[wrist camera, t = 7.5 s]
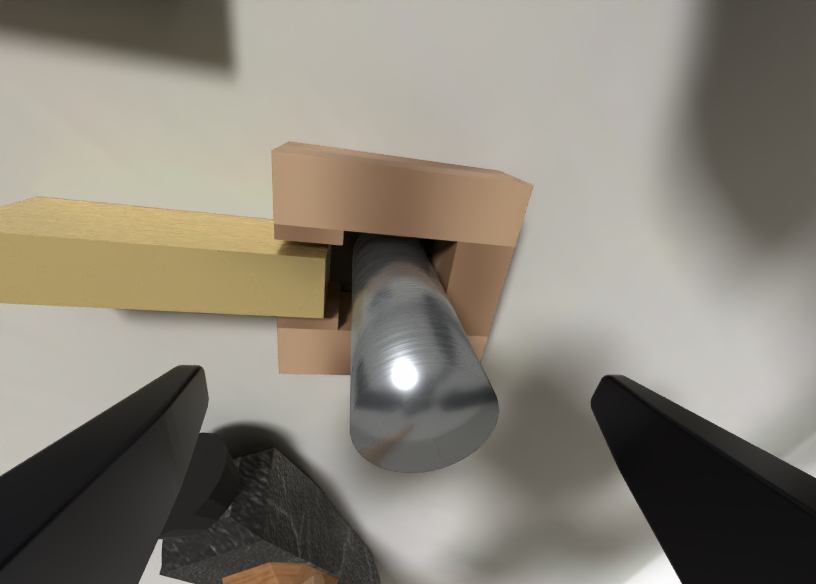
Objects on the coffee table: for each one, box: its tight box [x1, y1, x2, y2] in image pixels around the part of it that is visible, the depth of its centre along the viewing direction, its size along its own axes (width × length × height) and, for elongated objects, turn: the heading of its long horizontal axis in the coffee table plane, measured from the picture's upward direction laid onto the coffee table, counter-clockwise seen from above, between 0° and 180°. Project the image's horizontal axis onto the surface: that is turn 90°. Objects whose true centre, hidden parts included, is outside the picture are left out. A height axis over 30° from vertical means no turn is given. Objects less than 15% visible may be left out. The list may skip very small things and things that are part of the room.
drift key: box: [0, 197, 331, 318], centre depth 12 cm, size 10×2×4 cm, turn 82°
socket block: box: [271, 142, 534, 375], centre depth 13 cm, size 8×8×3 cm
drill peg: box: [350, 232, 499, 473], centre depth 11 cm, size 3×3×9 cm
